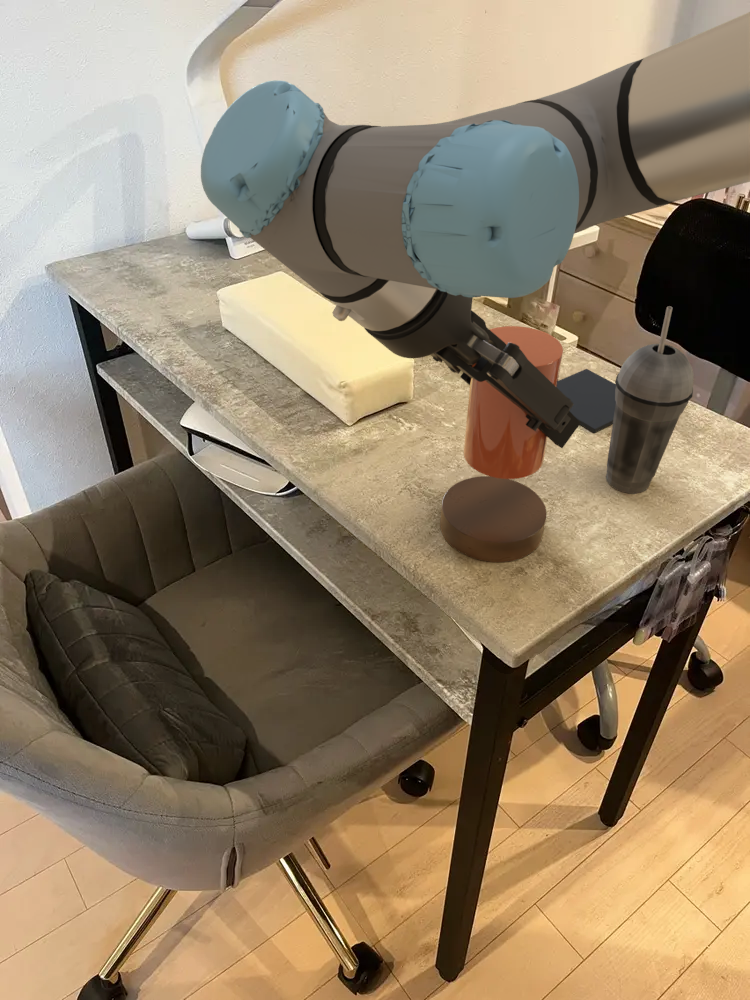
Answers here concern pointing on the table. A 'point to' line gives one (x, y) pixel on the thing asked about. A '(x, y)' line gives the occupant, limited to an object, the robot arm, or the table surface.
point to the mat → (590, 399)
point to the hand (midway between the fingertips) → (534, 413)
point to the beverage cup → (647, 411)
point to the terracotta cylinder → (509, 413)
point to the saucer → (492, 519)
